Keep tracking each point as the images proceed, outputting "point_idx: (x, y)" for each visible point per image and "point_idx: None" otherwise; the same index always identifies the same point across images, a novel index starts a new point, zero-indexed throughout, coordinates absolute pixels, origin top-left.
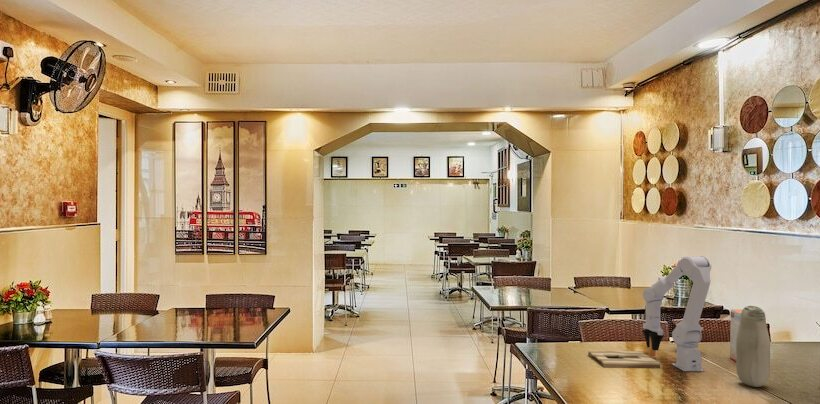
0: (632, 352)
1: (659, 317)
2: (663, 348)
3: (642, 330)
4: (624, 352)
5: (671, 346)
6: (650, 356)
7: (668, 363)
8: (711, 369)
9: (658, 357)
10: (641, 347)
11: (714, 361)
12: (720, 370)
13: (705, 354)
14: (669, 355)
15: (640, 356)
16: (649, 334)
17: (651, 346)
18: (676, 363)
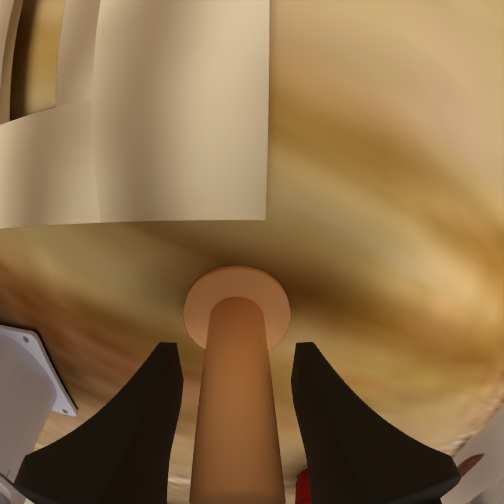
0: (199, 95)
1: None
2: (422, 417)
3: (437, 486)
4: (198, 2)
5: (431, 439)
6: (196, 287)
7: (63, 330)
8: (49, 429)
9: (203, 343)
10: (481, 327)
11: (183, 487)
12: (52, 441)
13: (291, 494)
14: (283, 417)
15: (35, 136)
16: (77, 488)
17: (211, 369)
18: (3, 343)
